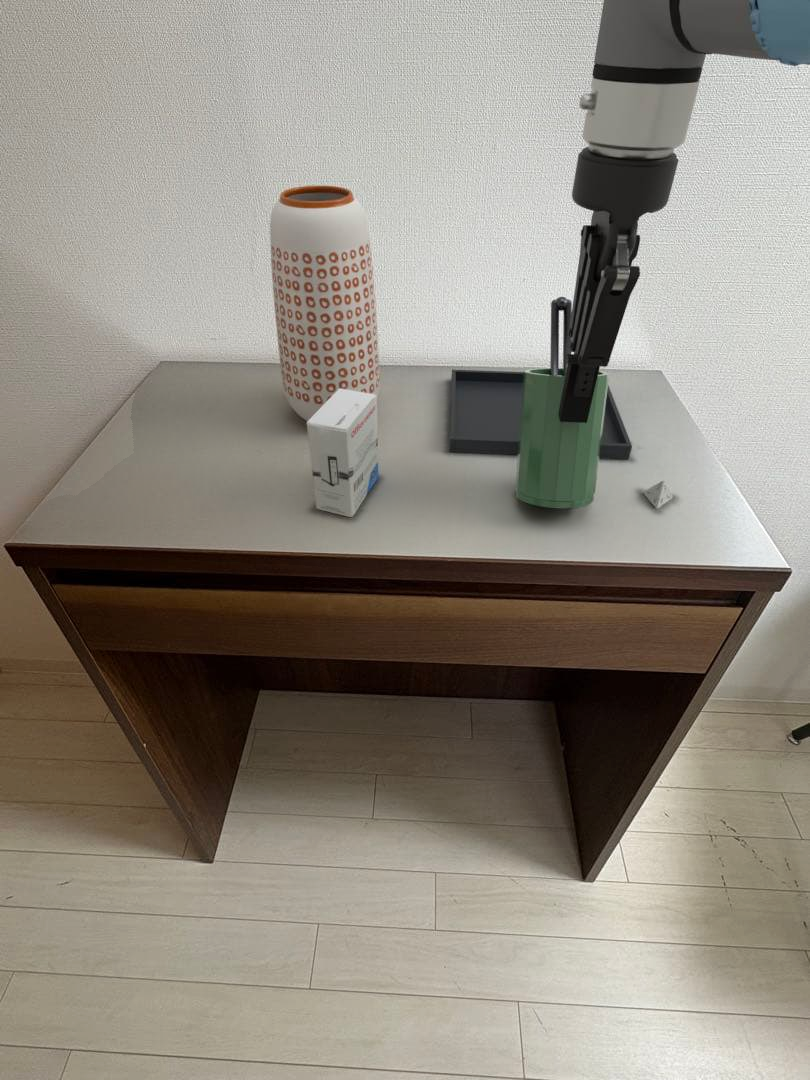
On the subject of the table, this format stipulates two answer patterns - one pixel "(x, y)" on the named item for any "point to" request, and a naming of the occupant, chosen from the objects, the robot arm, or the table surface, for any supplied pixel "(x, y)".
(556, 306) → the tongs
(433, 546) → the table surface
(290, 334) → the vase
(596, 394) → the cup
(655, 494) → the tetrahedral die
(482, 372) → the tray
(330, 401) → the ink box
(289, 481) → the table surface
